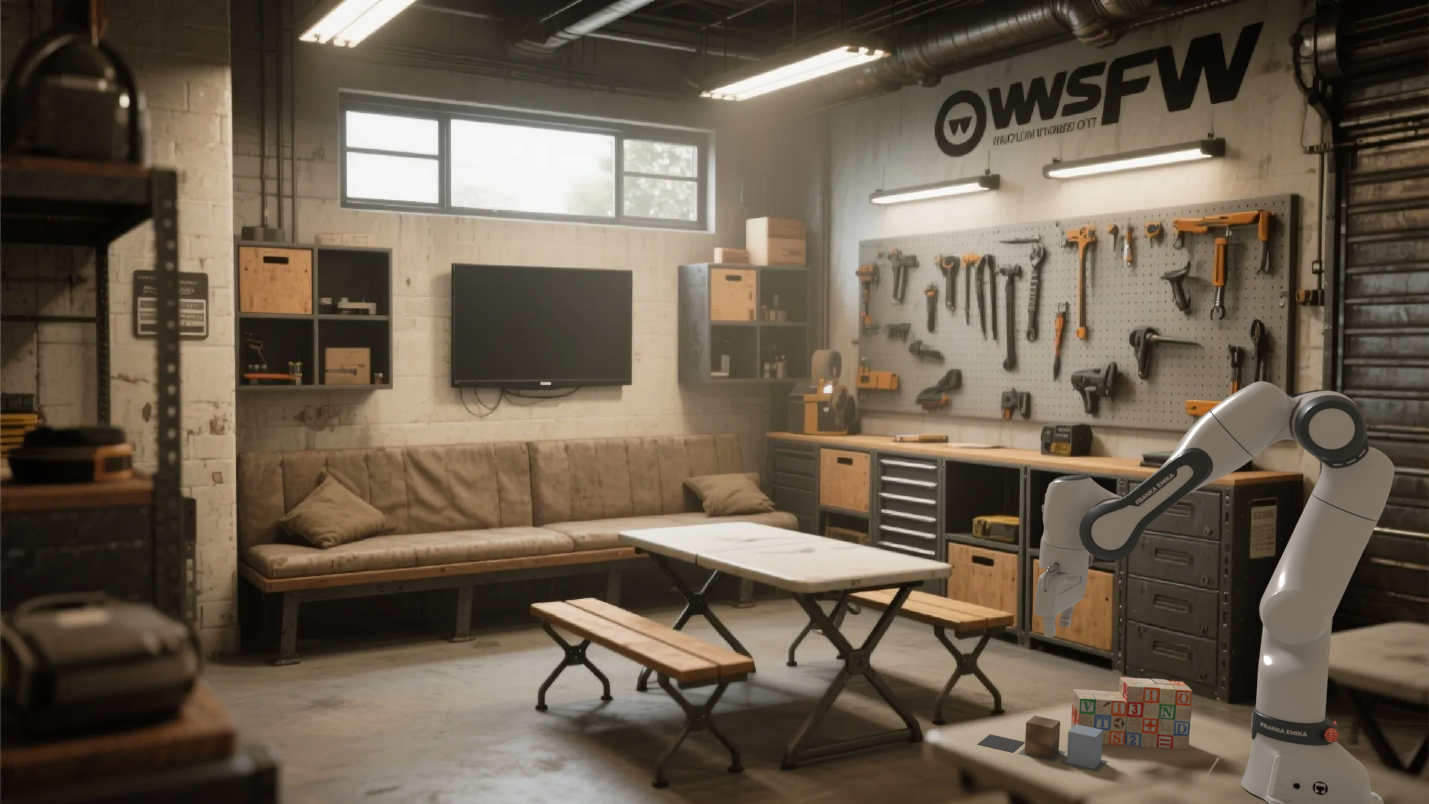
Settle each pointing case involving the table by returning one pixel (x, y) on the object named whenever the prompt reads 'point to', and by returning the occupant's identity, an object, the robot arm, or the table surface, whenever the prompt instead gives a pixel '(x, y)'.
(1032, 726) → the walnut block
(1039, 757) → the code tile
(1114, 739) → the stack of blocks
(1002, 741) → the rubber mat
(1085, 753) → the slate-blue block
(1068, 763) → the code tile
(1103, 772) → the table surface
